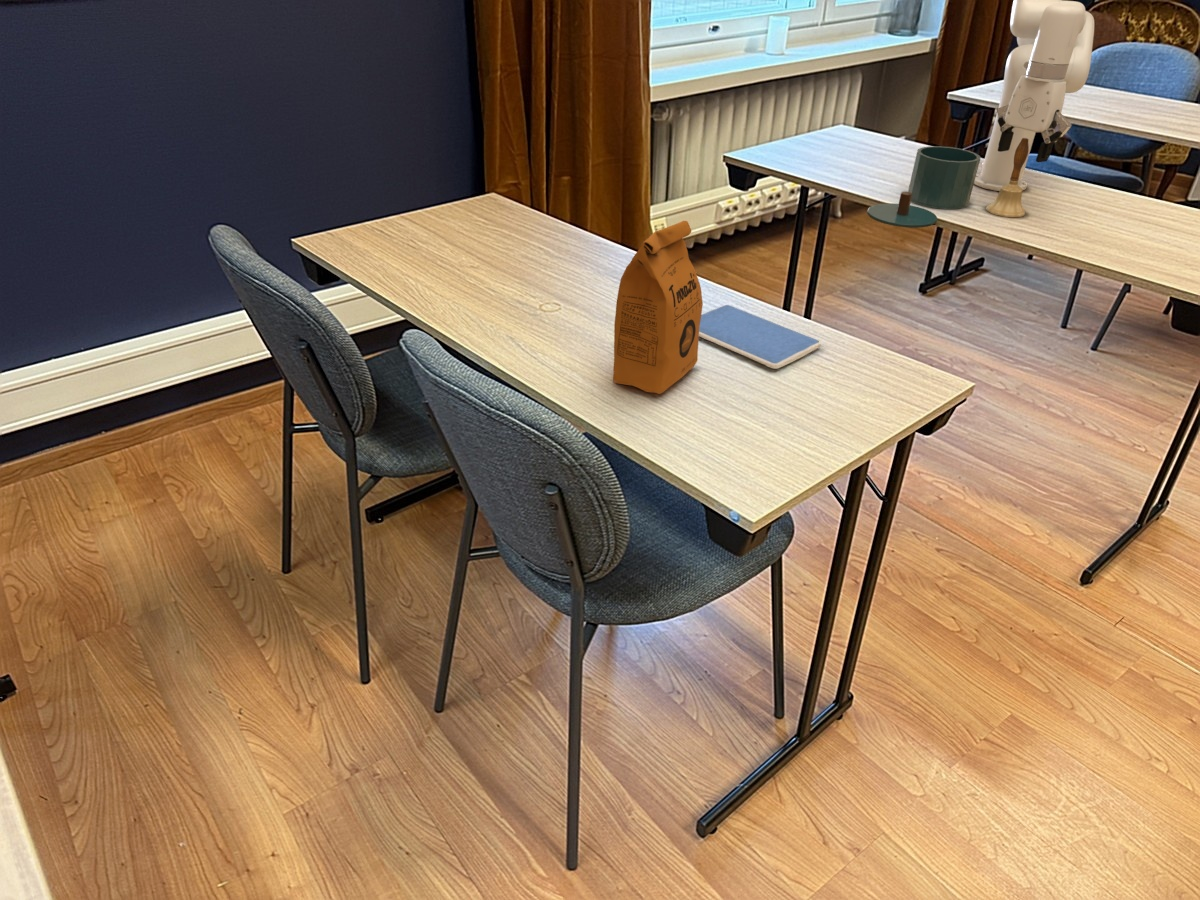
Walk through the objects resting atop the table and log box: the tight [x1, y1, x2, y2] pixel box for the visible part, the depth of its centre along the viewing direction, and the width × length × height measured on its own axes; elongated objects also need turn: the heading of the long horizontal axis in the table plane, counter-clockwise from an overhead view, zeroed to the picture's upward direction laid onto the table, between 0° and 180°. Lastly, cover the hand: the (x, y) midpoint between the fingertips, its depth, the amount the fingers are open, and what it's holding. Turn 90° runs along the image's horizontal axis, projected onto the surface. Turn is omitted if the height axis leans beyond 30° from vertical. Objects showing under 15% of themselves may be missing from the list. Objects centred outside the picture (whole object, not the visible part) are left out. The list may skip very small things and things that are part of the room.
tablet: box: [699, 304, 822, 369], centre depth 135 cm, size 19×13×1 cm, turn 44°
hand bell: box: [985, 138, 1029, 218], centre depth 190 cm, size 8×8×16 cm
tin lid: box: [866, 191, 938, 229], centre depth 186 cm, size 15×15×6 cm
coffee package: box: [612, 220, 704, 394], centre depth 119 cm, size 10×12×22 cm
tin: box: [907, 145, 981, 210], centre depth 198 cm, size 14×14×10 cm
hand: (1021, 156), depth 188 cm, fingers open, 9 cm apart
